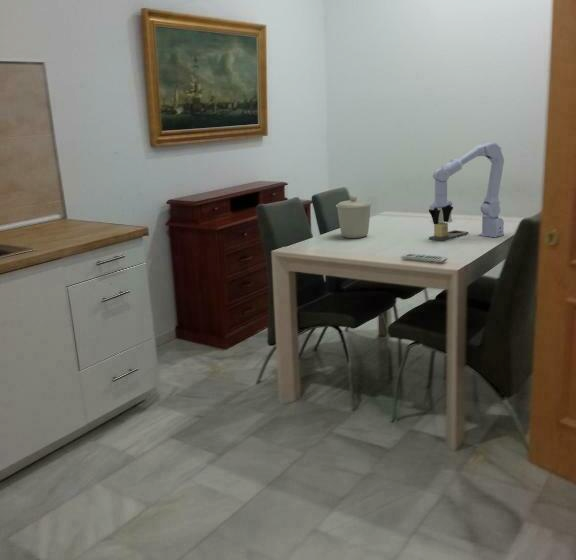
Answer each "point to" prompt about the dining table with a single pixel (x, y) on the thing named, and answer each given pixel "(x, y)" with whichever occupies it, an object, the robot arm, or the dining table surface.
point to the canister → (354, 217)
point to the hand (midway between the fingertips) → (440, 222)
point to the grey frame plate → (449, 235)
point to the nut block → (441, 230)
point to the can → (442, 214)
